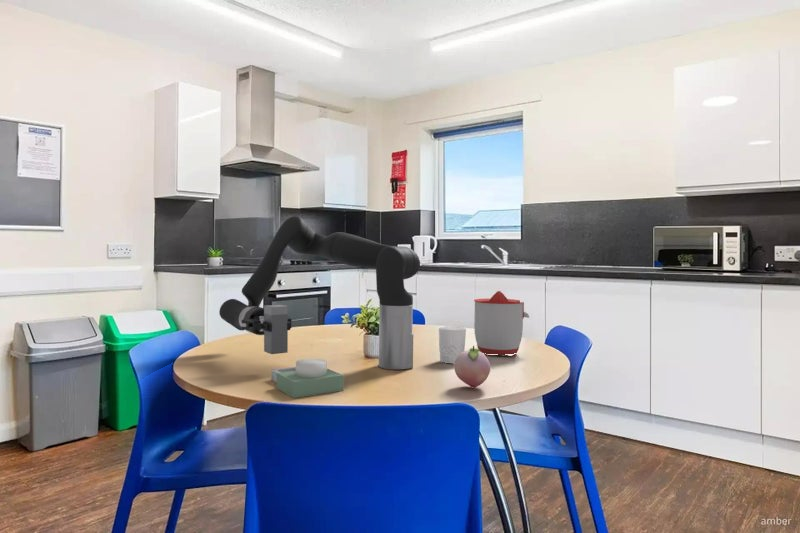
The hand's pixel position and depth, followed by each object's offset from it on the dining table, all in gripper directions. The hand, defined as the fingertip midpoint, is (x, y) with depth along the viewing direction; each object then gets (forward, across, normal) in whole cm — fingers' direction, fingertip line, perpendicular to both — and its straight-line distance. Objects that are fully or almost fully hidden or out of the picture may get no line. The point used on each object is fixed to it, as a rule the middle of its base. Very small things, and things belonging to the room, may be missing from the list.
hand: (279, 326), depth 136 cm
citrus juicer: (+10, +70, +13) cm, 72 cm away
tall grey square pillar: (-3, 0, +7) cm, 7 cm away
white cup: (+11, +48, +13) cm, 51 cm away
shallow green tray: (+14, 0, +12) cm, 18 cm away
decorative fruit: (+37, +32, +13) cm, 51 cm away
